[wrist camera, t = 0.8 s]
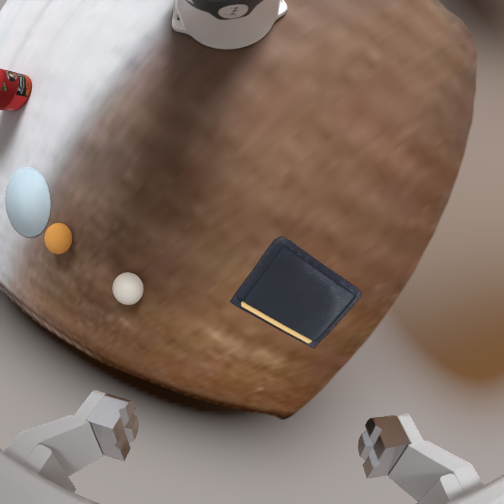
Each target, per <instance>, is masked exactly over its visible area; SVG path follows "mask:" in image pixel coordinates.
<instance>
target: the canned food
mask: <svg viewBox="0 0 504 504" xmlns="http://www.w3.org/2000/svg"><path fill="white" fill-rule="evenodd" d="M31 89H32V82H31V80H30V78H29V77H28V76H26V75H23V74H19V73H15V72H12V71H8V70H3V69H0V110H5V111H15V110H18V109H20V108H21V107H22V106H23V105H24V104H25V103H26V102H27V100H28V98H29V96H30V93H31Z"/></svg>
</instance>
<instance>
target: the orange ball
mask: <svg viewBox="0 0 504 504" xmlns="http://www.w3.org/2000/svg"><path fill="white" fill-rule="evenodd" d="M44 240H45V245H46V247H47V248H48V250H49V251H51V252H52V253H54V254H62V253H64V252H66V251H67V250H68V249H69V248H70V246H71V243H72V233H71V231H70V229H69V228H68V227H67V226H66V225H65V224H63V223H55V224H52V225H51V226H50V227H49V228H48V229H47V231H46V233H45V237H44Z"/></svg>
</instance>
